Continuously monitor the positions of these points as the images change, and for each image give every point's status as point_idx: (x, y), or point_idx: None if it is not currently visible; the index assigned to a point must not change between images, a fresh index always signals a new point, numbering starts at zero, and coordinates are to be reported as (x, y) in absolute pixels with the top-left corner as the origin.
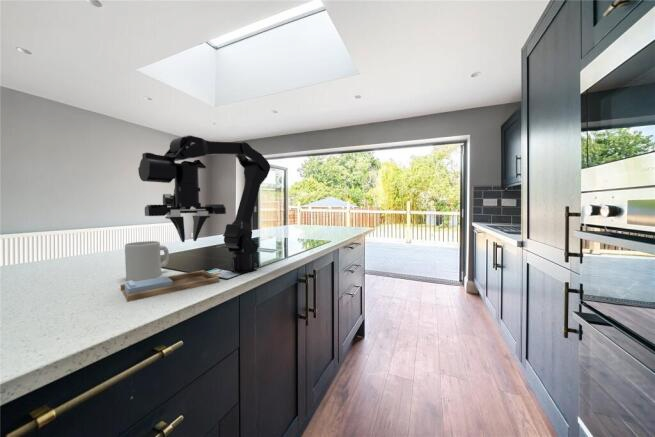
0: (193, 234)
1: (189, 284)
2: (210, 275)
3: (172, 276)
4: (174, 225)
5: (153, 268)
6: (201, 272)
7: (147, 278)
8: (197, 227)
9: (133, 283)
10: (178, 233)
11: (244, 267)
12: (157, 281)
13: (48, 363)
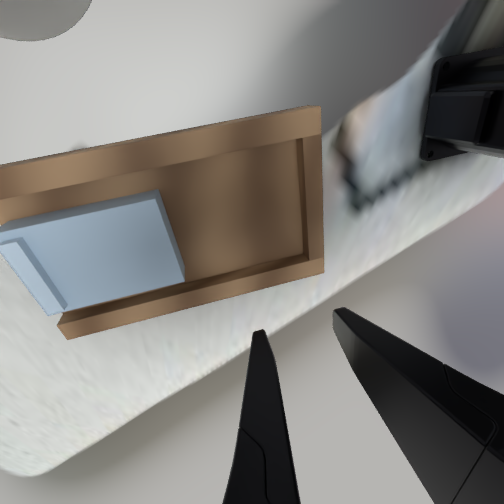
0: (360, 350)
1: (233, 294)
2: (312, 229)
3: (177, 155)
4: (223, 501)
5: (41, 4)
6: (301, 143)
7: (34, 37)
8: (409, 456)
9: (48, 293)
10: (245, 396)
11: (464, 150)
12: (131, 267)
13: (55, 466)
